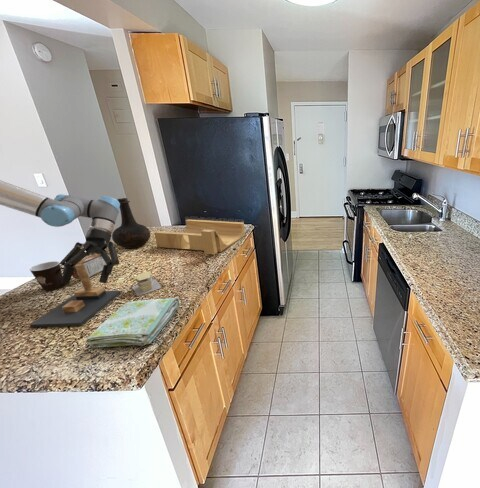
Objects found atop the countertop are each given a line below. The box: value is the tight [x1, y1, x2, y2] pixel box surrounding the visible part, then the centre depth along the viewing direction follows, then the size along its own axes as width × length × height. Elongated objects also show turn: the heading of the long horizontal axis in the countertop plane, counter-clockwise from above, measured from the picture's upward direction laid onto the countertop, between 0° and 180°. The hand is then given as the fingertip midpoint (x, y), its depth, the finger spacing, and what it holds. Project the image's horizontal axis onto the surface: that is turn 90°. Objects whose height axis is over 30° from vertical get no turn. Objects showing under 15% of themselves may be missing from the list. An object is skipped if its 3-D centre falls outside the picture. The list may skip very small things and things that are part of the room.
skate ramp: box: [153, 216, 246, 259], centre depth 154 cm, size 40×35×16 cm
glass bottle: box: [111, 197, 151, 249], centre depth 148 cm, size 18×18×28 cm
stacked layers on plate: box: [131, 271, 163, 297], centre depth 109 cm, size 10×9×6 cm
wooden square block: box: [62, 300, 85, 313], centre depth 93 cm, size 4×4×2 cm
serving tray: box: [29, 290, 122, 328], centre depth 96 cm, size 16×20×1 cm
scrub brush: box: [73, 264, 106, 300], centre depth 98 cm, size 8×4×14 cm, turn 94°
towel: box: [84, 297, 180, 349], centre depth 86 cm, size 18×21×5 cm
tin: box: [72, 254, 107, 280], centre depth 118 cm, size 15×3×8 cm, turn 172°
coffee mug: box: [29, 261, 66, 292], centre depth 108 cm, size 12×9×10 cm
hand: (83, 283), depth 97 cm, fingers open, 13 cm apart
